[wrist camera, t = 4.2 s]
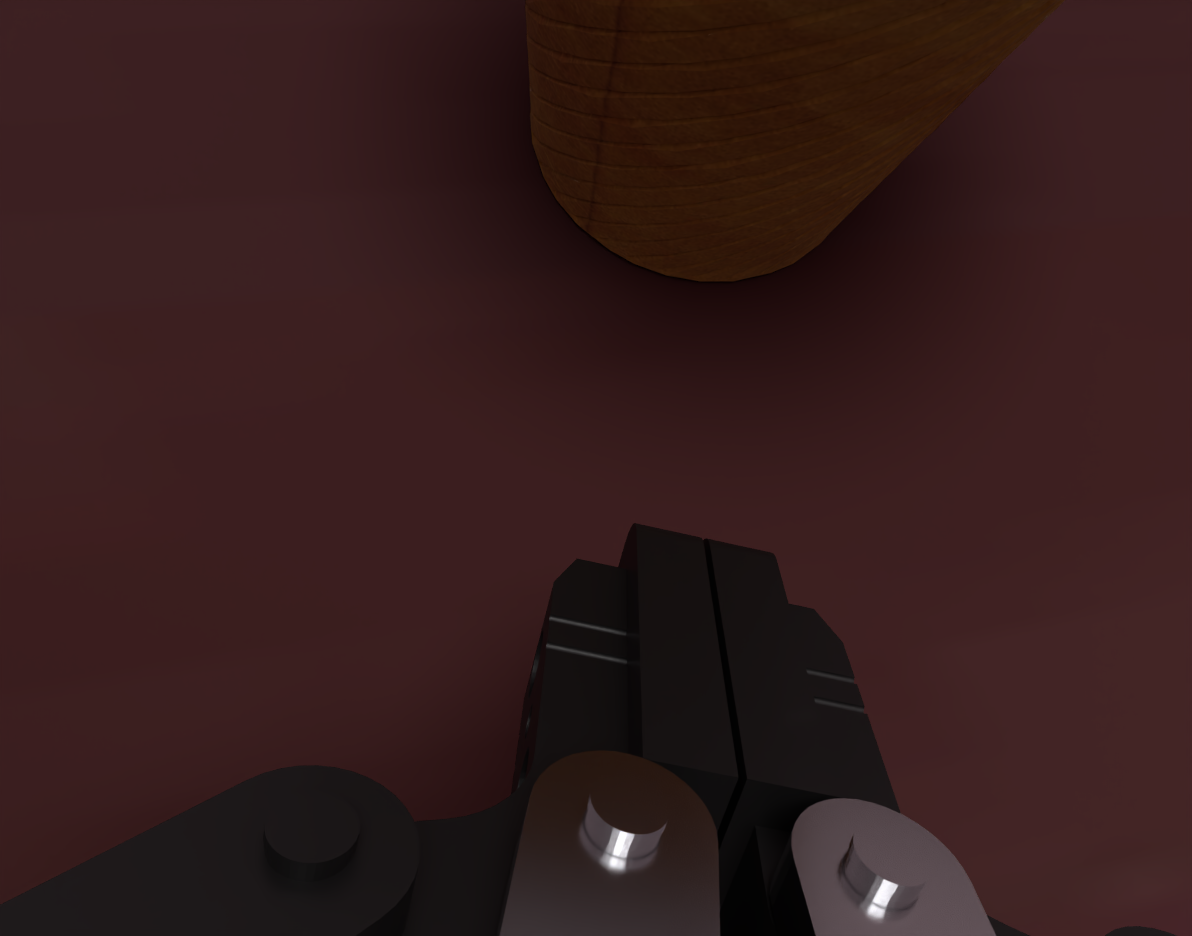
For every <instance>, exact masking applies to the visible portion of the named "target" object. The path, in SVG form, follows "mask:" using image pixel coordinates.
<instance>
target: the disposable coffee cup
mask: <svg viewBox="0 0 1192 936" xmlns="http://www.w3.org/2000/svg"><path fill="white" fill-rule="evenodd" d="M1063 1H1064V0H525V2H526V5H525V13H526V25H527V34H526V35H527V47H528V59H529V60H528V65H529V79H530V85H529V88H530V102H531V111H530V120H531V134H532V144H533V147H534V150H535V153H536V156H537V159H538V162H539V165H540V168H541V171H542V174H543V177H544V179H545V180H546V182H547V184H548V186H549V188H550V189H551V191H552V193H553V195H554V196H555V198H556V200H557V201H558V202H559V203H560V205H561V206H562V207H563V208H564V209H565V211H566V212H567V213H568V214H569V215H570V217H571V218H572V219H573V220H574V221H575V223H576V224H577V225H578V226H580V227H581V228H582V229H583V230H585V231H586V232H587V233H588V234H590V235H591V236H592V237H594V238H595V239H596V240H597V241H599V242H600V243H601V244H602V245H604V246H605V247H606V248H608V249H609V250H610V251H612V252H614V253H616V254H618V255H619V256H621V257H623V258H625V259H626V260H628V261H630V262H632V263H633V264H636V265H639V266H642V267H644V268H647V269H650V270H653V271H655V272H658V273H661V274H664V275H667V276H672V277H678V278H684V279H689V280H695V281H737V280H742V279H746V278H751V277H755V276H760V275H764V274H769V273H772V272H774V271H777V270H779V269H782V268H784V267H786V266H789V265H791V264H793V263H795V262H796V261H797V260H799V259H800V258H802V257H803V256H804V255H806V254H807V253H808V252H810V251H811V250H812V249H814V248H815V247H816V246H818V245H819V244H820V243H821V242H822V241H823V240H824V239H825V238H826V237H827V236H828V234H829V233H830V232H831V231H832V230H833V229H834V228H835V227H836V226H837V225H838V224H839V223H840V222H841V221H842V220H843V219H844V218H845V217H846V216H847V215H848V214H849V213H850V212H852V211H853V210H854V209H855V207H856V206H857V205H858V204H859V203H860V202H861V201H862V200H863V199H864V198H866V197H867V196H868V195H869V194H870V193H871V192H872V191H873V190H874V189H875V188H876V187H877V186H878V185H879V184H880V183H881V182H882V181H883V180H884V179H885V178H886V177H887V176H888V175H889V174H890V173H891V172H892V171H893V170H894V169H895V168H896V167H897V166H898V165H899V164H900V163H901V162H902V161H903V160H904V159H905V158H906V157H907V156H908V155H909V154H910V153H911V152H913V151H914V150H915V149H916V147H917V146H918V145H919V144H920V143H921V142H922V141H923V140H924V139H926V138H927V137H928V136H929V135H930V134H931V133H932V132H933V131H935V130H936V129H937V128H938V127H939V126H940V124H941V123H942V122H943V121H944V120H945V119H946V118H947V117H948V116H949V115H950V114H951V113H952V112H953V111H954V110H955V109H956V108H957V107H958V106H959V105H960V104H961V103H962V102H963V101H964V100H965V99H966V98H967V97H968V96H969V95H970V94H971V93H972V92H973V91H974V89H976V88H977V87H978V86H979V85H980V84H981V83H982V82H983V81H984V80H985V79H986V78H987V77H988V76H989V75H990V74H991V73H992V72H993V71H994V70H995V69H996V68H997V66H998V65H999V64H1000V63H1001V62H1002V61H1003V60H1004V59H1005V58H1006V57H1007V56H1008V55H1009V54H1011V53H1012V52H1013V51H1014V50H1015V49H1016V48H1017V47H1018V46H1019V45H1020V44H1021V43H1022V42H1023V41H1024V40H1025V39H1026V38H1027V37H1028V36H1029V35H1030V34H1031V33H1032V32H1033V31H1034V30H1035V29H1036V28H1037V27H1038V26H1039V25H1040V24H1041V23H1042V22H1043V21H1044V20H1045V19H1046V18H1047V17H1048V16H1049V15H1050V14H1051V13H1052V12H1053V11H1055V10H1056V9H1057V8H1058V7H1059V6H1060V5H1061V4H1062V2H1063Z"/></svg>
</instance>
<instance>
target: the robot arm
mask: <svg viewBox="0 0 1192 936" xmlns="http://www.w3.org/2000/svg"><path fill="white" fill-rule="evenodd" d="M854 678H855V677H854V674H853V671H852V668H851V665H850V662H849V659H848V656H847V654H846V651H845V648H844V645H843V642H842V641H841V640H840V639H839V638H838V637H837V635H836V634H835V633H834V632H833V631H832V630H831V628H830V627H829V626H828V625H827V624H826V623H825V622H824V620H823V619H822V618H821V617H820V616H819V615H818V613H817V612H816V611H815V610H814V609H811V608H807V607H802V606H797V605H793V604H788V600H787V597H786V593H785V589H784V586H783V582H782V578H781V574H780V571H779V567H778V563H777V560H776V557H775V555H774V554H773V553H770V552H766V551H761V550H756V549H752V548H747V547H743V546H738V545H734V544H729V543H724V542H720V541H715V540H711V539H704V540H702V538H700V537H696V536H691V535H687V534H682V533H677V532H673V531H668V530H664V529H659V528H654V527H650V526H645V525H641V524H636V523H634V524H633V525H632V527H631V529H630V531H629V533H628V536H627V539H626V542H625V545H624V549H623V552H622V556H621V559H620V563H619V566H618V567H614V566H609V565H604V564H600V563H595V562H590V561H586V560H581V559H576V560H575V561H574V562H573V563H572V564H571V565H570V566H569V567H568V568H567V569H566V570H565V571H564V572H563V573H562V574H561V575H560V576H559V577H558V578H557V579H556V580H555V581H554V584H553V588H552V592H551V596H550V599H549V603H548V607H547V611H546V615H545V619H544V623H543V627H542V631H541V635H540V639H539V643H538V646H537V650H536V654H535V658H534V662H533V666H532V670H531V674H530V678H529V682H528V686H527V690H526V693H525V697H524V704H523V711H522V718H521V726H520V733H519V735H520V736H519V741H518V748H517V755H516V763H515V765H516V766H515V771H514V777H513V785H512V792H511V795H510V796H509V797H508V798H506V799H505V800H503V801H502V802H500V803H498V804H497V805H495V806H493V807H491V808H488V809H486V810H484V811H481V812H478V813H475V814H471V815H467V816H464V817H457V818H450V819H440V820H428V821H416V822H414V820H413V818H412V817H411V815H410V813H409V812H408V810H407V809H406V807H405V806H404V805H403V804H402V802H401V801H400V800H399V799H398V798H397V797H396V796H395V795H394V794H393V793H391V792H390V791H389V790H388V789H386V788H385V787H384V786H382V785H381V784H379V783H377V782H375V781H373V780H372V779H370V778H368V777H366V776H363V775H360V774H358V773H355V772H352V771H348V770H344V769H340V768H336V767H327V766H317V765H315V766H294V767H287V768H281V769H277V770H273V771H270V772H266V773H263V774H260V775H258V776H256V777H253V778H251V779H248V780H246V781H244V782H242V783H240V784H238V785H236V786H234V787H232V788H230V789H228V790H226V791H224V792H222V793H220V794H218V795H216V796H214V797H212V798H211V799H209V800H207V801H205V802H203V803H201V804H199V805H197V806H195V807H193V808H191V809H189V810H187V811H185V812H183V813H181V814H179V815H177V816H175V817H173V818H171V819H169V820H167V821H165V822H163V823H161V824H159V825H157V826H155V827H153V828H151V829H149V830H147V831H145V832H143V833H141V834H139V835H137V836H135V837H133V838H131V839H129V840H127V841H125V842H123V843H122V844H120V845H118V846H116V847H114V848H112V849H110V850H108V851H106V852H104V853H102V854H100V855H98V856H96V857H94V858H92V859H90V860H88V861H86V862H84V863H82V864H80V865H78V866H76V867H74V868H72V869H70V870H68V871H66V872H64V873H62V874H60V875H58V876H56V877H54V878H52V879H50V880H48V881H46V882H44V883H42V884H40V885H38V886H36V887H34V888H32V889H31V890H29V891H27V892H25V893H23V894H21V895H19V896H17V897H15V898H13V899H11V900H9V901H7V902H5V903H3V904H1V905H0V936H1029V935H1027V934H1025V933H1023V932H1020V931H1018V930H1016V929H1014V928H1012V927H1009V926H1007V925H1005V924H1003V923H1001V922H999V921H998V920H996V919H994V918H992V917H990V916H988V915H986V913H985V911H984V909H983V907H982V904H981V902H980V900H979V898H978V896H977V894H976V892H975V890H974V887H973V885H972V883H971V881H970V879H969V878H968V876H967V874H966V872H965V870H964V869H963V867H962V866H961V865H960V863H959V862H958V861H957V859H956V858H955V857H954V855H953V854H952V853H951V852H950V851H949V850H948V849H947V848H946V847H945V846H944V845H943V843H941V842H940V841H939V840H938V839H937V838H936V837H935V836H933V835H932V834H931V833H930V832H929V831H927V830H926V829H924V828H923V827H922V826H920V825H919V824H917V823H916V822H914V821H913V820H911V819H909V818H907V817H906V816H904V815H902V814H901V813H900V810H899V807H898V804H897V801H896V798H895V795H894V792H893V790H892V787H891V784H890V781H889V778H888V775H887V772H886V769H885V766H884V763H883V760H882V757H881V754H880V751H879V748H878V745H877V742H876V739H875V736H874V733H873V730H872V727H871V724H870V721H869V719H868V716H867V714H864V713H863V710H864V704H863V701H862V698H861V695H860V692H859V689H858V686H857V684H854ZM1105 936H1176V935H1174V934H1171V933H1168V932H1164V931H1161V930H1158V929H1154V928H1147V927H1140V926H1133V927H1123V928H1119V929H1115V930H1113V931H1111V932H1110V933H1108V934H1106V935H1105Z"/></svg>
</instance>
